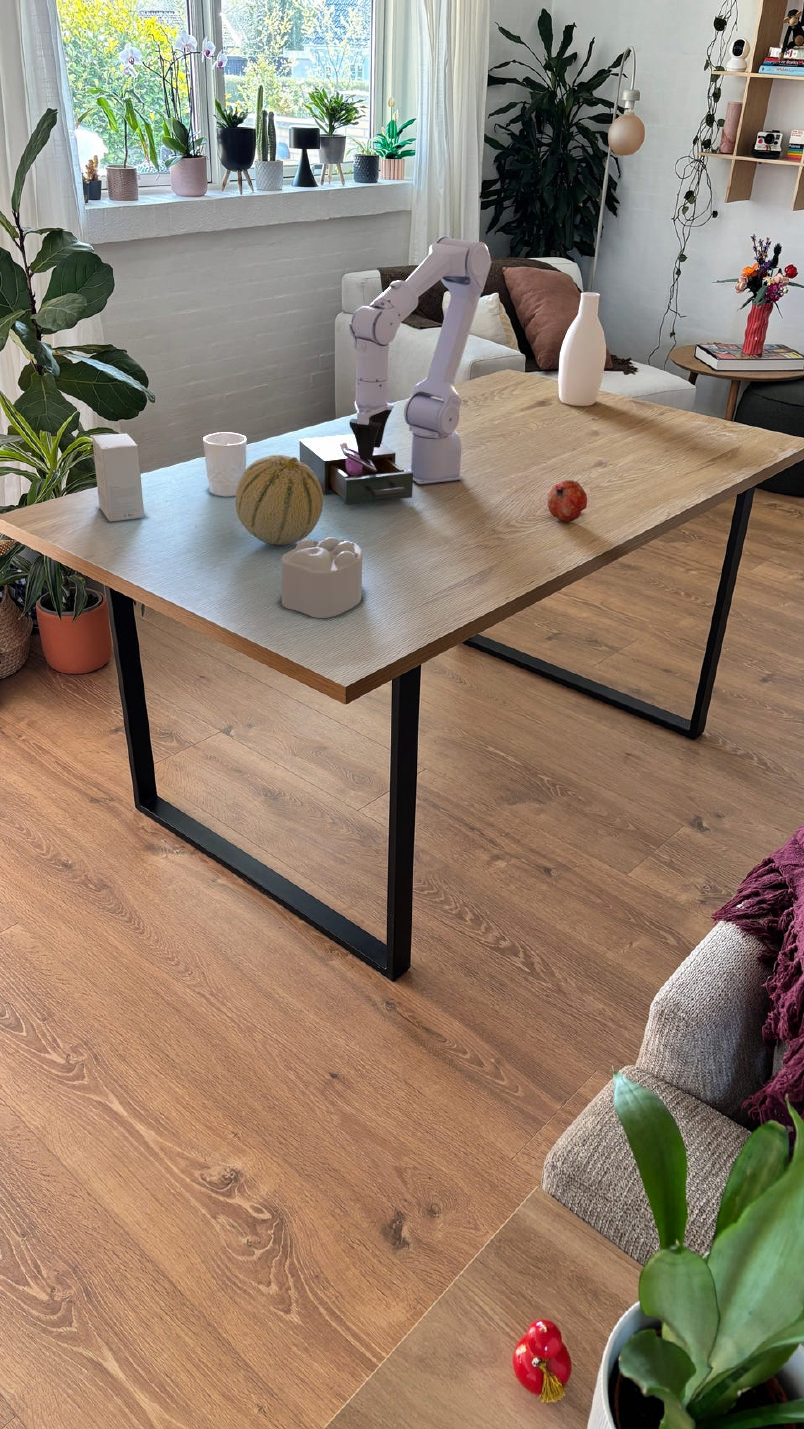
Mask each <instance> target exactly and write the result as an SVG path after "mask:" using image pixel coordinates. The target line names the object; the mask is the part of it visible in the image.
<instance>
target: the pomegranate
mask: <svg viewBox="0 0 804 1429" xmlns="http://www.w3.org/2000/svg"><path fill="white" fill-rule="evenodd" d="M546 502H547V509H548V511H549V513H550V514H551V515H552V517H555V518H556V519H559V520H561V521H563V522H566V523H567V522H569V523H571V522H573V521H575V520H577V519H578V518H579V517H580V516H581V515H582V512H583V511H584V510H585V509H586V508H587V506H588V495H587V493H586V491H585V490H584V488H583V486H581V484H580V483H579V482H577V481H575V480H574V479H567V480H566V479H565V480H563V481H561V482H559V483H558V484H557V483H556V484H554V485H553V486H552V487H551V489H550V491H549V494H548V496H547V501H546Z"/></svg>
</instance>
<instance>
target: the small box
mask: <svg viewBox="0 0 804 1429" xmlns="http://www.w3.org/2000/svg"><path fill="white" fill-rule="evenodd" d="M91 439H92V448H93V459H94V469H95V478H96V486H97V497H98V499H97V500H98V508H99V509H100V510H101V511H102V513H103V514H104V516H105V517H106V519H107V520H108V521H109V522H117V521H119V522H120V521H127V520H134V519H141V518H145V510H144V509H145V508H144V499H143V487H142V476H141V465H140V451H139V445H138V444H137V443H136V442H135V441H134V440H133V438H132V437H131V436H130V435H129V434H128V433H115V434H103V435H93V436H92V437H91Z"/></svg>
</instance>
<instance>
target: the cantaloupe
mask: <svg viewBox="0 0 804 1429" xmlns="http://www.w3.org/2000/svg"><path fill="white" fill-rule="evenodd" d="M234 498H235V499H234V505H235V510H236V515H237V517H238V520H239V521H240V523H241V525H242V526H243V527H244V528H245V530H246V531H247V532H248V533H249V534H250V535H252V536H253V537H254V538H256V539H257V540H258V541H261V542H262V543H267V544H268V545H269V544H270V545H278V546H279V545H280V546H285V545H286V546H287V545H291V544H294V543H298V542H299V541H301V540H303V539H306V537H308V536H309V535H310V534H311V533H312V532H313V531H314V529H315V528H316V526H317V525H318V522H319V520H320V518H321V516H322V512H323V504H324V493H323V492H322V489H321V486H320V483H319V481H318V479H317V477H316V475H315V474H314V472H313V471H312V470H311V469H310V468H309V467H308V466H307V465H305V464H304V463H302V462H300V459H298V458H297V457H295V456H289V455H284V454H271V455H267V456H264V457H262V458H259V459H257V460H255V461H253V462H252V463H251V464H249V466H246V470H245V471H244V472H243V474H242V476H241V478H240V480H239V482H238V485H237V489H236V496H235V497H234Z"/></svg>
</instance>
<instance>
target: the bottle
mask: <svg viewBox="0 0 804 1429" xmlns="http://www.w3.org/2000/svg"><path fill="white" fill-rule="evenodd" d="M600 297H601V294H600V293H598V292H591V291H583V292H581V293H580V302H579V307H578V314H577V316H576V317H575V319H574V320H573V321H572V323H571V325H570V326H569V328H568V329H567V332H566V334H565V337H564V339H563V341H562V345H561V349H560V352H559V364H558V365H559V366H558V396H559V400H560V403H563V404H566V405H569V406H576V407H588V406H592V405H594V404H595V403H596V402H597V399H598V396H599V392H600V389H601V385H602V382H603V378H604V377H603V376H604V371H605V365H606V360H607V344H606V337H605V332H604V329H603V326H602V324H601V321H600V318H599V305H600V304H599V301H600Z"/></svg>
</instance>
